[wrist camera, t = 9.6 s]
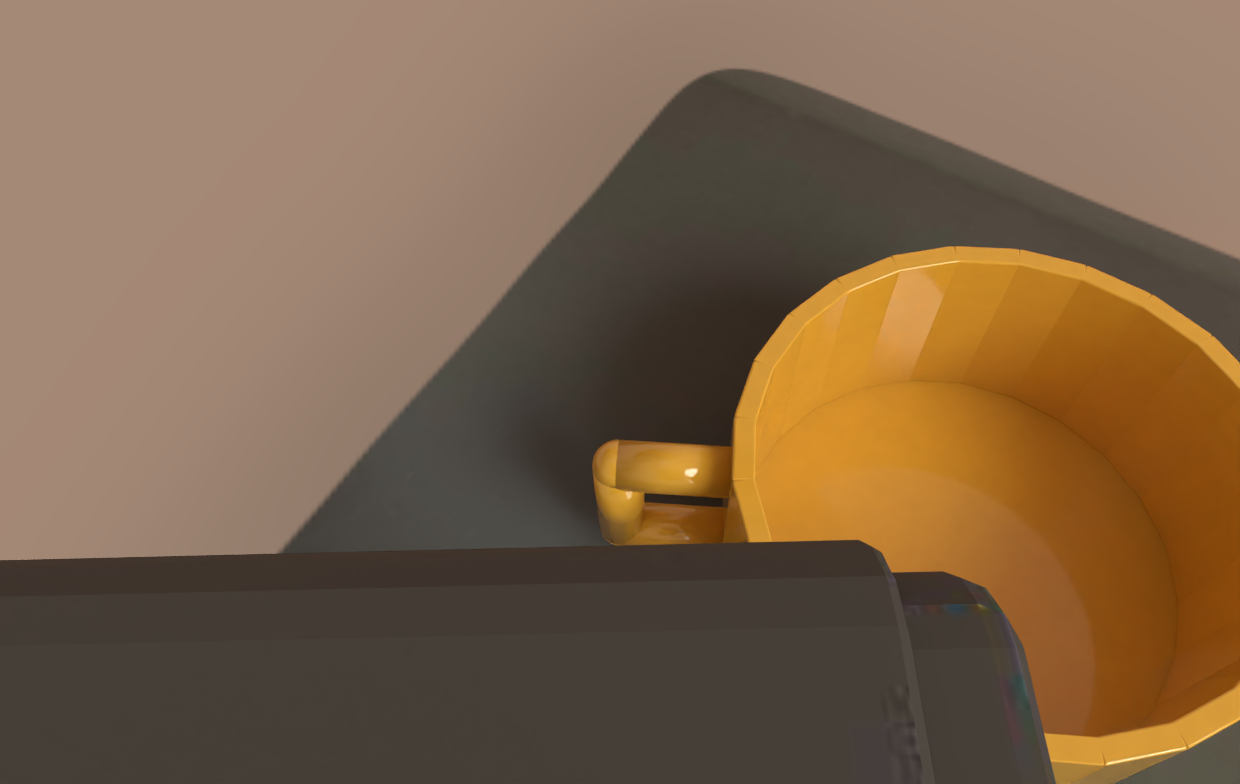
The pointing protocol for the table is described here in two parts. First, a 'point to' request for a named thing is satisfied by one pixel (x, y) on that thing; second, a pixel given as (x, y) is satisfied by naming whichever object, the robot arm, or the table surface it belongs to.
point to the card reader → (512, 669)
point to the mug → (999, 477)
